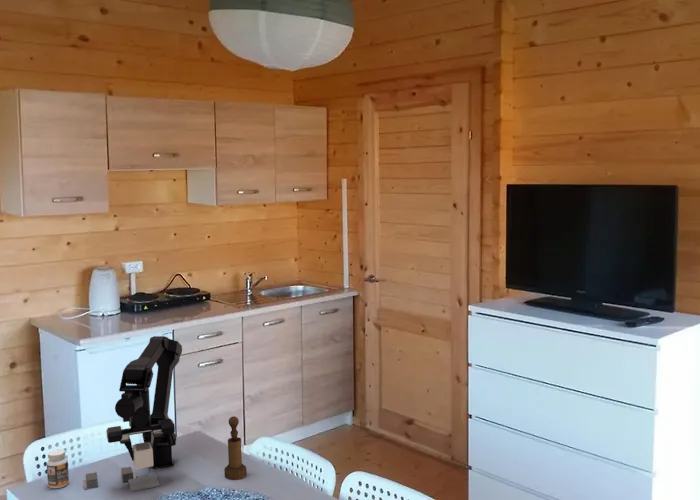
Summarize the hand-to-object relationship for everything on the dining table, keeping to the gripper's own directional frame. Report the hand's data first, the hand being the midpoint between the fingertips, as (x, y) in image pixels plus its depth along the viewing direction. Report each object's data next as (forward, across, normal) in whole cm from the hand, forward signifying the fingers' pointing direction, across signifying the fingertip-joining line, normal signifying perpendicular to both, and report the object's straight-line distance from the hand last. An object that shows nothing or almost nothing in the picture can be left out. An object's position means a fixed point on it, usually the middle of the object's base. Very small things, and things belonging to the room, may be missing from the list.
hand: (142, 458), depth 212 cm
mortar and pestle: (+8, -26, +6) cm, 28 cm away
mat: (+8, 0, 0) cm, 8 cm away
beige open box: (+1, 0, +2) cm, 2 cm away
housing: (+8, +9, -6) cm, 13 cm away
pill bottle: (+8, +23, -10) cm, 26 cm away
